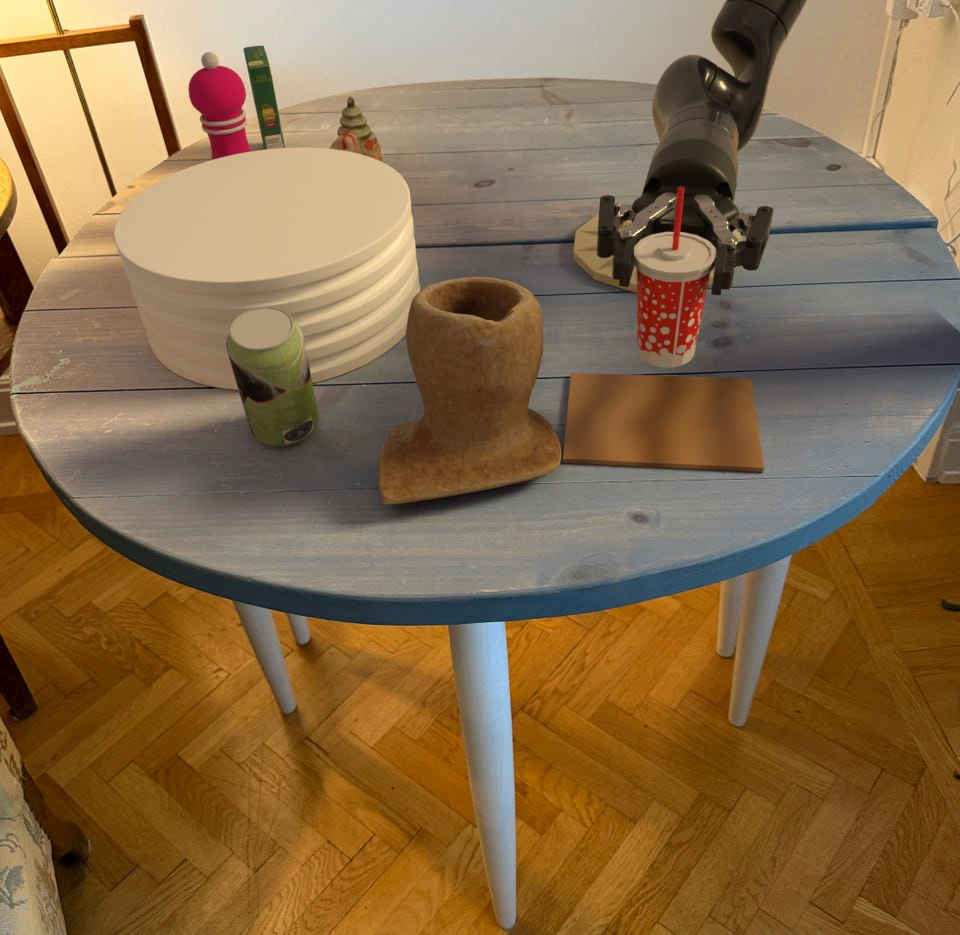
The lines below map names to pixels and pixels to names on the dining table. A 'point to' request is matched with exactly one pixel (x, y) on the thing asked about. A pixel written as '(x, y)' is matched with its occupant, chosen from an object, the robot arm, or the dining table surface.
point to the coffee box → (264, 97)
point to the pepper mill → (220, 106)
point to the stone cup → (470, 394)
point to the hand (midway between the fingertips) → (670, 279)
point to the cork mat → (662, 422)
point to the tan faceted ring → (603, 266)
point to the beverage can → (273, 376)
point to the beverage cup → (671, 292)
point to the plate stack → (272, 257)
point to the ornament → (356, 133)
